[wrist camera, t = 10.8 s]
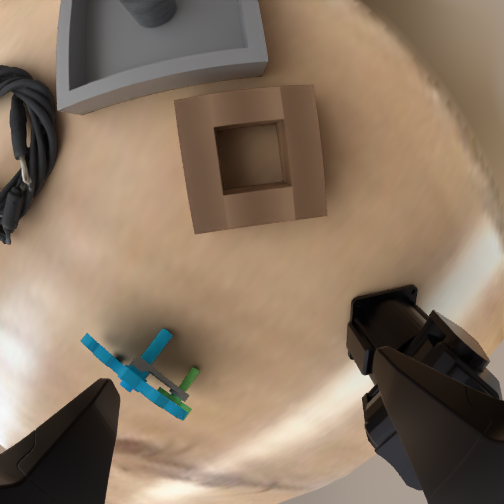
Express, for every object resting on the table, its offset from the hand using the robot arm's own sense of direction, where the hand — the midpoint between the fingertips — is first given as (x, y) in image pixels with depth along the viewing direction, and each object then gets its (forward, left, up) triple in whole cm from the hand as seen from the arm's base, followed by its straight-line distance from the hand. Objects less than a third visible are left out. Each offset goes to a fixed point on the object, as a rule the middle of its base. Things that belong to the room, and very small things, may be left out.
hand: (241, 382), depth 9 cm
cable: (+20, -13, -13) cm, 28 cm away
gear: (+9, +8, -13) cm, 18 cm away
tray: (+3, -18, -13) cm, 23 cm away
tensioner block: (-2, -6, -13) cm, 14 cm away
